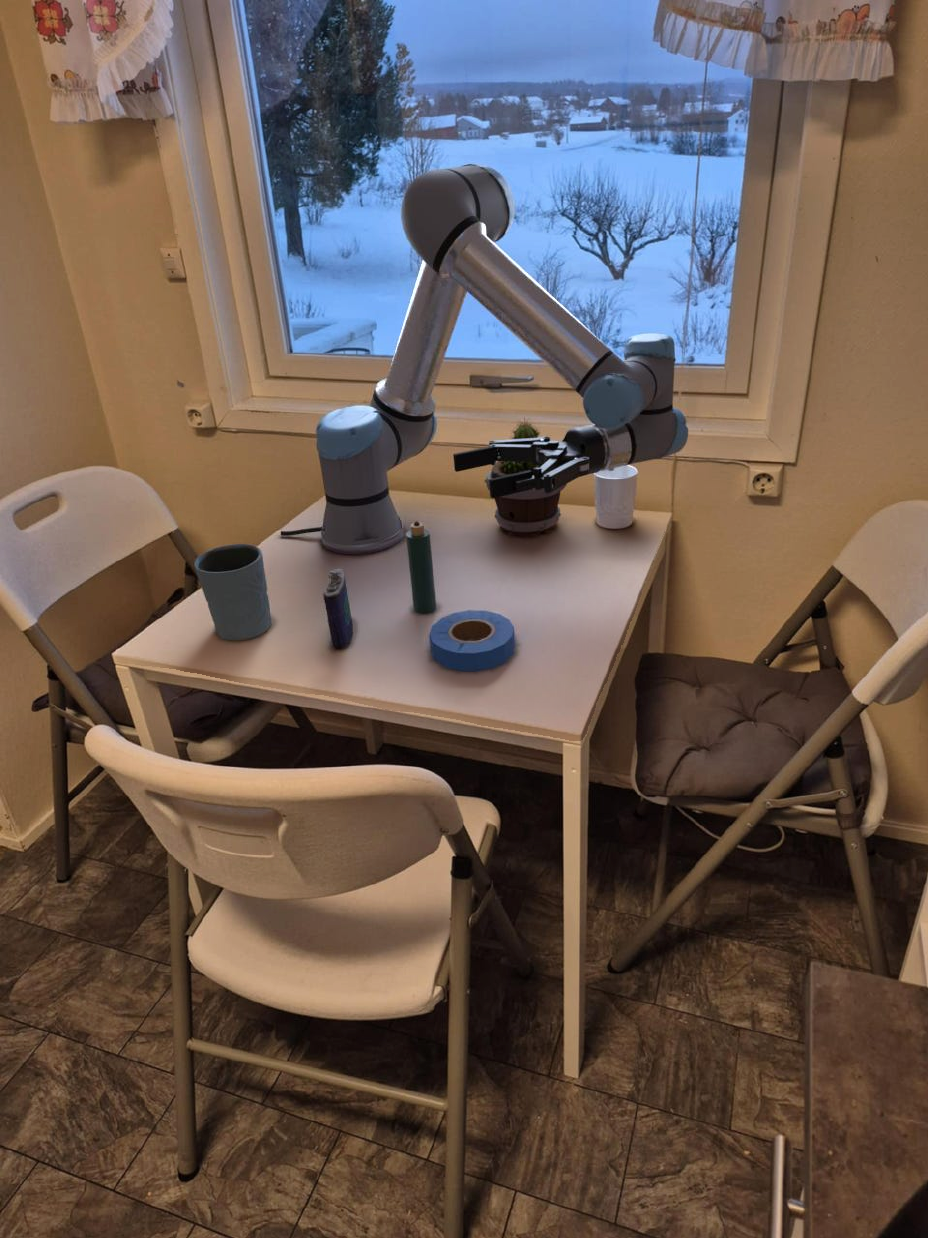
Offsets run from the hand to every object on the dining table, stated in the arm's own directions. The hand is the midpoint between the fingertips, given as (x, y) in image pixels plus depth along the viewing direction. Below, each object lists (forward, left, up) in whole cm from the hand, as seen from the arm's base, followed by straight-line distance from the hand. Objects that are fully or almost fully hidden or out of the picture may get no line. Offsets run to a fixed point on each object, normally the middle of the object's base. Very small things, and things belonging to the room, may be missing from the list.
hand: (471, 475), depth 128 cm
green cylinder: (-5, -8, -20) cm, 22 cm away
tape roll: (+8, -15, -20) cm, 26 cm away
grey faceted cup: (+9, +35, -20) cm, 42 cm away
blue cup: (-28, -25, -20) cm, 43 cm away
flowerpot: (-5, +27, -20) cm, 34 cm away
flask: (-12, -20, -20) cm, 31 cm away
